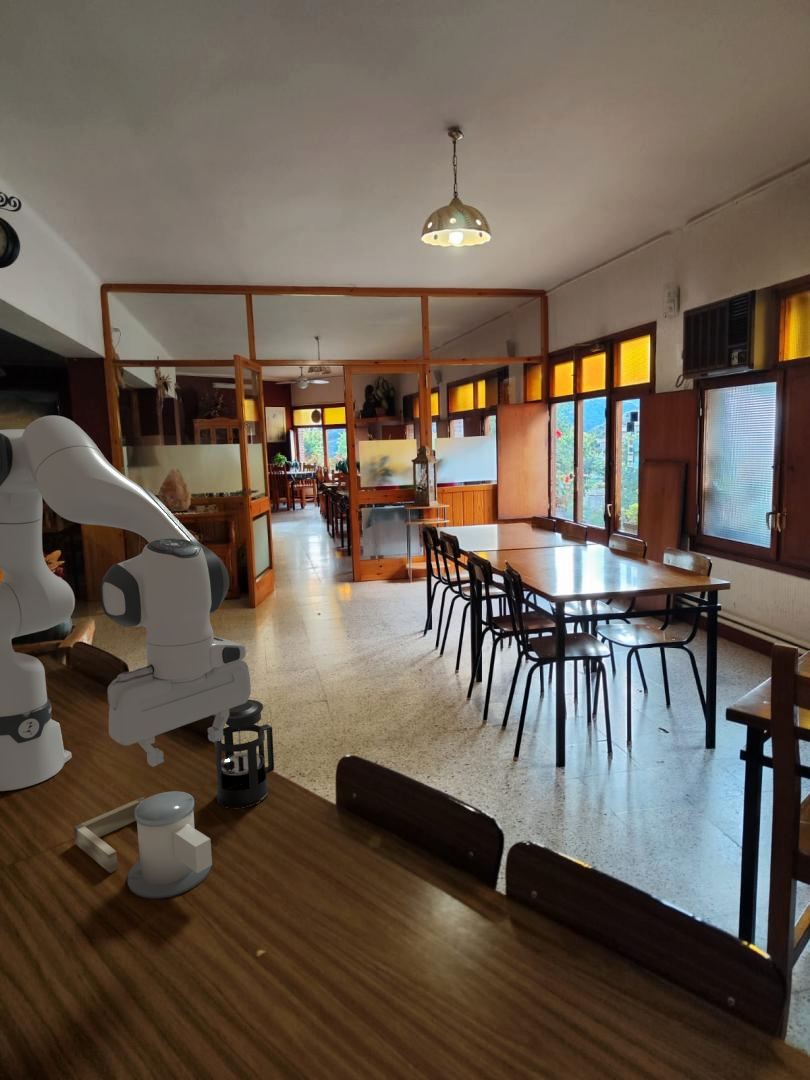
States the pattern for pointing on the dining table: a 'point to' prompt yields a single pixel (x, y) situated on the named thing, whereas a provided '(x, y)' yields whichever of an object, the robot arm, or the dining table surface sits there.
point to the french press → (243, 758)
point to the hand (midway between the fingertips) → (186, 751)
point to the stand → (100, 826)
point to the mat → (163, 890)
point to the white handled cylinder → (170, 838)
